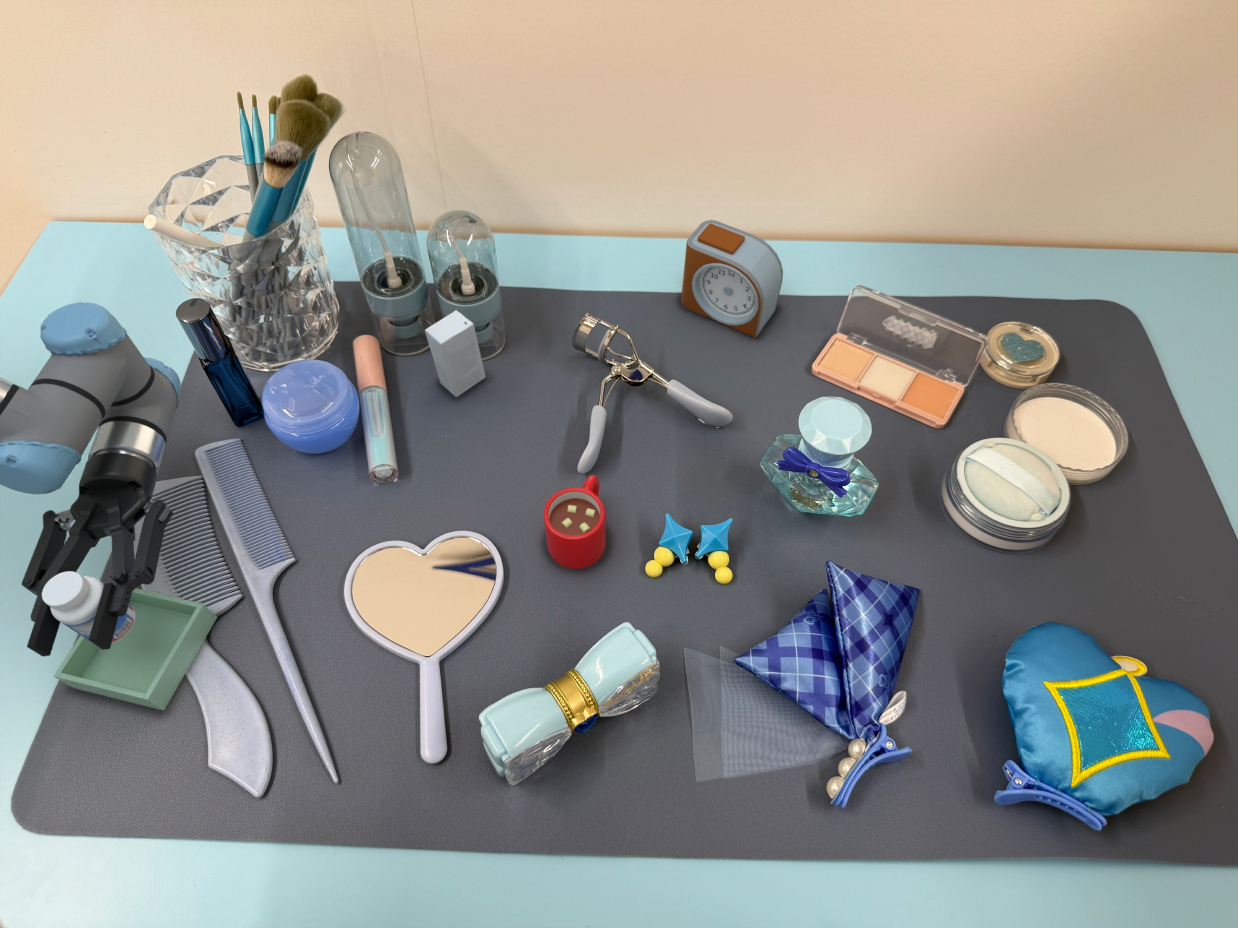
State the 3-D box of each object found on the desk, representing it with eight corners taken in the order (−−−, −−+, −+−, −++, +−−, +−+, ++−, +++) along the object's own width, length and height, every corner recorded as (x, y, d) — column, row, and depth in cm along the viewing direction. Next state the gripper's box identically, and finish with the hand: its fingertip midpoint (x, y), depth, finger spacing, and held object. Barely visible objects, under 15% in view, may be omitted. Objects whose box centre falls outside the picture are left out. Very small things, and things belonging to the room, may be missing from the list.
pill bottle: (87, 611, 90) (35, 572, 82) (136, 596, 91) (90, 557, 83) (86, 653, 87) (32, 617, 79) (137, 637, 88) (89, 601, 80)
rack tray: (73, 687, 93) (52, 676, 89) (131, 597, 100) (115, 583, 96) (164, 710, 91) (147, 699, 88) (217, 617, 98) (203, 603, 95)
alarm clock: (675, 306, 131) (681, 241, 120) (699, 277, 135) (707, 212, 124) (754, 339, 127) (767, 275, 116) (776, 308, 131) (791, 244, 120)
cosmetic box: (469, 364, 123) (457, 308, 113) (486, 378, 122) (475, 323, 112) (438, 384, 121) (423, 329, 111) (455, 399, 119) (441, 344, 109)
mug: (621, 501, 108) (621, 470, 102) (595, 575, 102) (594, 546, 95) (568, 488, 110) (565, 456, 103) (539, 560, 103) (534, 530, 97)
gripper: (214, 477, 98) (176, 650, 84) (62, 492, 96) (0, 670, 83) (187, 441, 92) (142, 623, 78) (24, 457, 90) (-50, 644, 77)
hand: (69, 647), depth 81 cm, fingers closed on pill bottle, 5 cm apart
